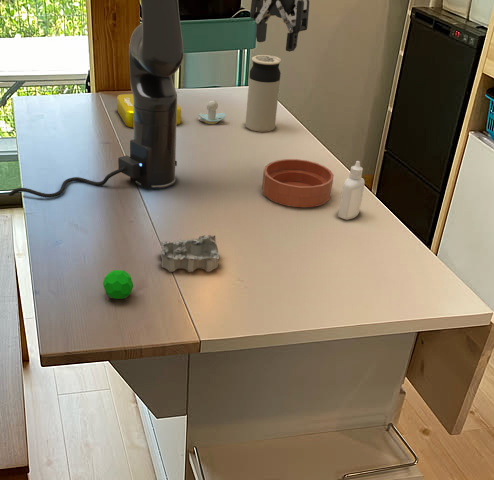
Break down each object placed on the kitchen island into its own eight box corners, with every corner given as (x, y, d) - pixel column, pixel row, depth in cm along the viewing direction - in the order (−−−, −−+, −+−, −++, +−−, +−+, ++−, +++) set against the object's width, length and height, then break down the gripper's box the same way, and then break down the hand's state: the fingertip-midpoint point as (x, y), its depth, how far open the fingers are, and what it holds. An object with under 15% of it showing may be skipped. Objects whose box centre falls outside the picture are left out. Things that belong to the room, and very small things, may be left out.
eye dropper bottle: (365, 218, 150) (375, 164, 143) (341, 221, 148) (351, 167, 141) (354, 209, 153) (364, 156, 146) (331, 211, 152) (340, 158, 145)
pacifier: (194, 118, 195) (200, 125, 190) (195, 95, 192) (201, 102, 187) (220, 117, 197) (226, 124, 192) (221, 94, 193) (228, 101, 189)
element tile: (115, 109, 197) (115, 92, 195) (168, 107, 201) (168, 90, 199) (127, 128, 186) (127, 110, 183) (182, 125, 190) (183, 107, 187)
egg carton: (216, 253, 134) (218, 234, 132) (218, 274, 128) (220, 254, 126) (160, 251, 134) (160, 232, 131) (159, 272, 128) (160, 252, 125)
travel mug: (250, 133, 188) (257, 63, 177) (241, 122, 194) (246, 54, 184) (278, 131, 190) (286, 62, 179) (268, 121, 196) (275, 54, 186)
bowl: (299, 215, 149) (302, 193, 147) (247, 190, 158) (249, 169, 155) (344, 196, 158) (347, 175, 155) (292, 174, 167) (295, 153, 164)
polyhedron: (123, 285, 123) (122, 261, 121) (138, 298, 120) (138, 274, 118) (98, 294, 121) (97, 270, 118) (113, 307, 118) (112, 283, 115)
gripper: (245, -42, 145) (239, 41, 154) (298, -31, 137) (288, 56, 146) (270, -44, 150) (263, 36, 159) (323, -33, 141) (312, 51, 151)
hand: (275, 46), depth 152 cm, fingers open, 8 cm apart
